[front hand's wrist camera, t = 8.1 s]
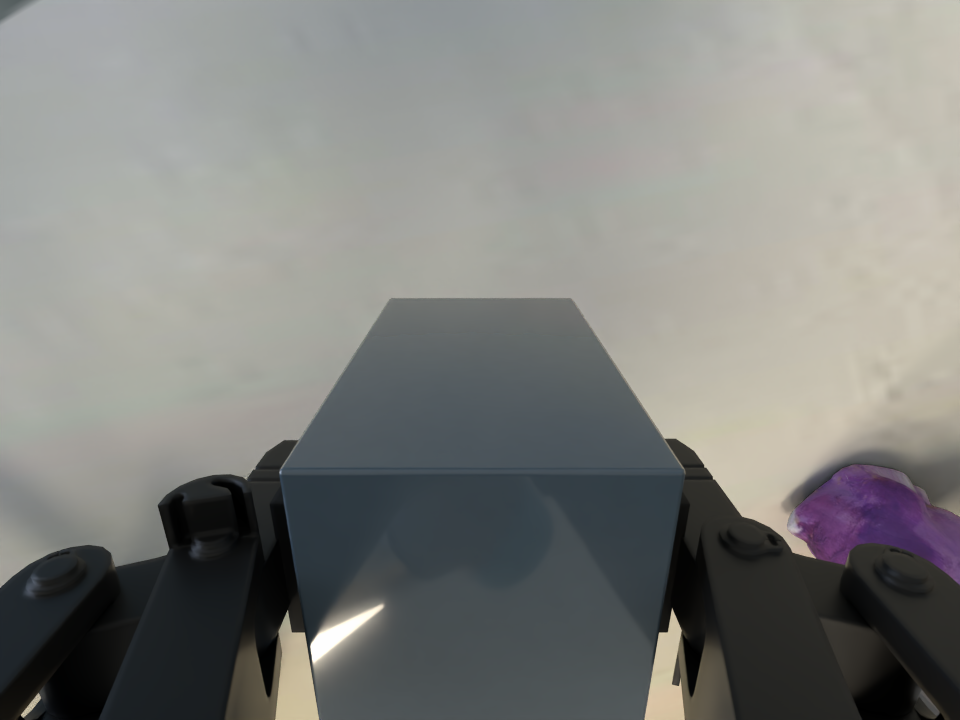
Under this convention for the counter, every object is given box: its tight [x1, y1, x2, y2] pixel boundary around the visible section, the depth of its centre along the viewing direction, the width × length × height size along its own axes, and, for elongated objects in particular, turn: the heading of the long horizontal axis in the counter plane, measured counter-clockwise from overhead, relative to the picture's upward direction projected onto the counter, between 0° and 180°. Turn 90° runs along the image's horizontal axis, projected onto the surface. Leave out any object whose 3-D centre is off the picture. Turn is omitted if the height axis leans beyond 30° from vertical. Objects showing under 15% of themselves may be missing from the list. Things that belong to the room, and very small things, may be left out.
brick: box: [279, 298, 685, 720], centre depth 11 cm, size 5×6×9 cm
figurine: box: [787, 464, 960, 585], centre depth 32 cm, size 9×10×15 cm
